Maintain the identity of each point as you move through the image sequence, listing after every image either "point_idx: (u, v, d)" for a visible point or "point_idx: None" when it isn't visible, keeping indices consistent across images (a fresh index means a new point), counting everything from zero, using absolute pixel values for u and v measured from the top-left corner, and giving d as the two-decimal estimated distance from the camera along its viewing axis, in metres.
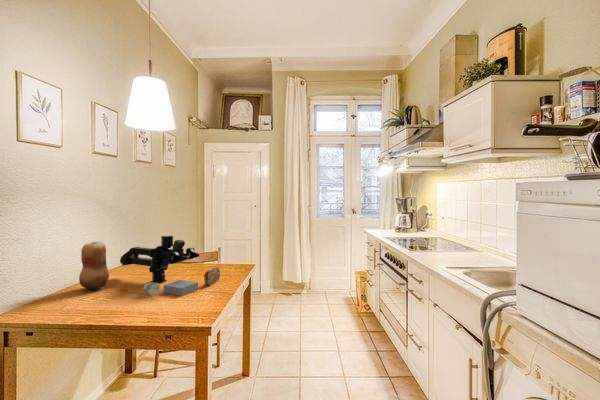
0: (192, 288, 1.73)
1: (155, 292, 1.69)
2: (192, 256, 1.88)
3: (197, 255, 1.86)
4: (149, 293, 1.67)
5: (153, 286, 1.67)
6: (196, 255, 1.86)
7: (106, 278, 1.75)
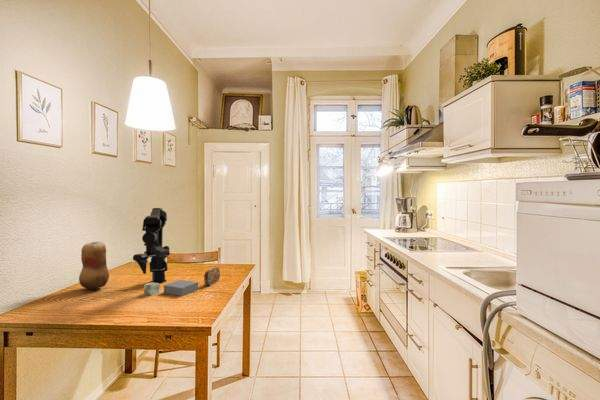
0: (192, 288, 1.73)
1: (155, 292, 1.69)
2: (157, 260, 1.74)
3: (158, 268, 1.73)
4: (149, 293, 1.67)
5: (153, 286, 1.67)
6: (158, 266, 1.73)
7: (106, 278, 1.75)
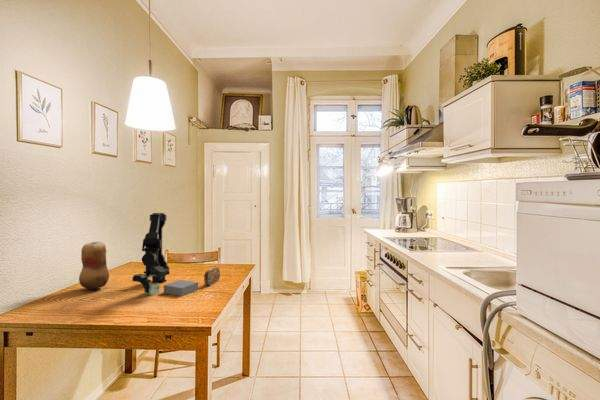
0: (192, 288, 1.73)
1: (155, 292, 1.69)
2: (154, 280, 1.73)
3: None
4: (149, 293, 1.67)
5: (153, 286, 1.67)
6: None
7: (106, 278, 1.75)
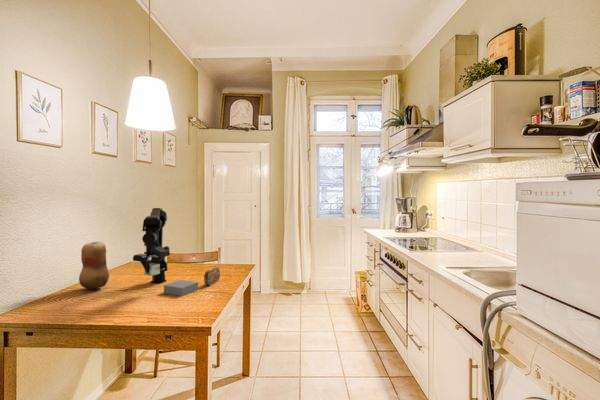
0: (192, 288, 1.73)
1: (155, 272, 1.68)
2: (155, 261, 1.72)
3: None
4: (149, 273, 1.67)
5: (153, 266, 1.67)
6: None
7: (106, 278, 1.75)
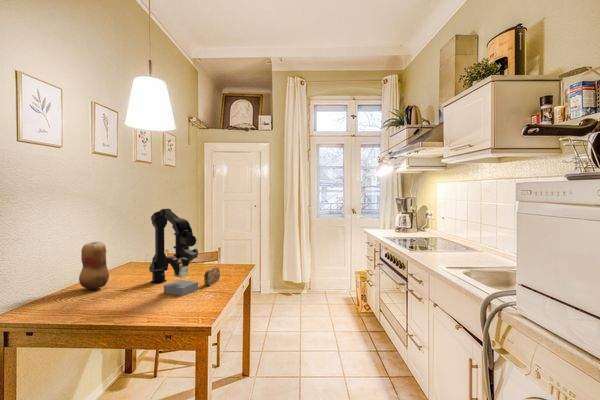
0: (192, 288, 1.73)
1: (185, 274, 1.72)
2: (183, 263, 1.76)
3: None
4: (179, 275, 1.71)
5: (183, 268, 1.71)
6: None
7: (106, 278, 1.75)
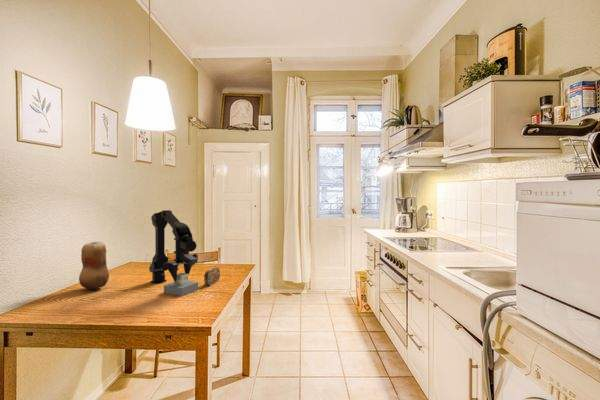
0: (192, 288, 1.73)
1: (185, 282, 1.73)
2: (185, 267, 1.78)
3: None
4: (179, 283, 1.71)
5: (183, 276, 1.71)
6: None
7: (106, 278, 1.75)
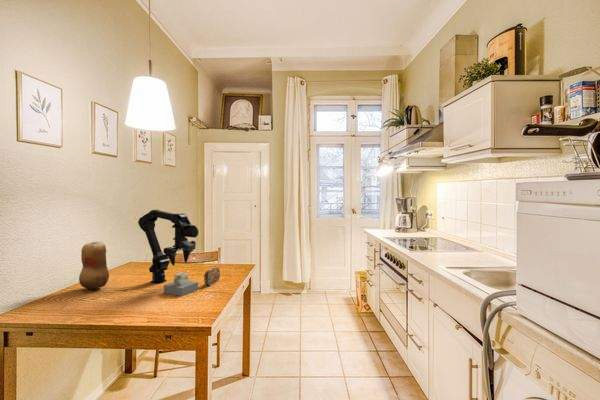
0: (192, 288, 1.73)
1: (185, 282, 1.73)
2: (184, 253, 1.90)
3: (185, 260, 1.90)
4: (179, 283, 1.71)
5: (183, 276, 1.71)
6: (185, 259, 1.90)
7: (106, 278, 1.75)
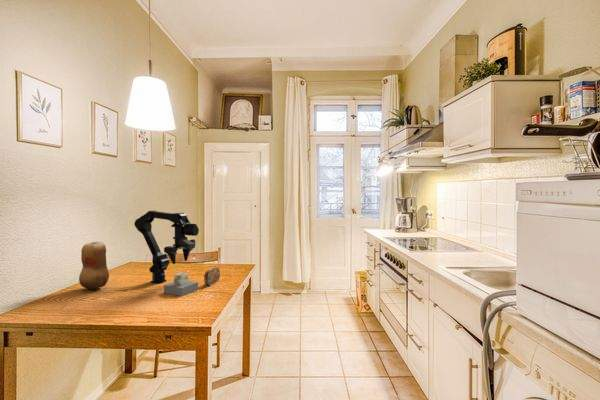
0: (192, 288, 1.73)
1: (185, 282, 1.73)
2: (184, 252, 1.92)
3: (185, 259, 1.92)
4: (179, 283, 1.71)
5: (183, 276, 1.71)
6: (185, 258, 1.92)
7: (106, 278, 1.75)
